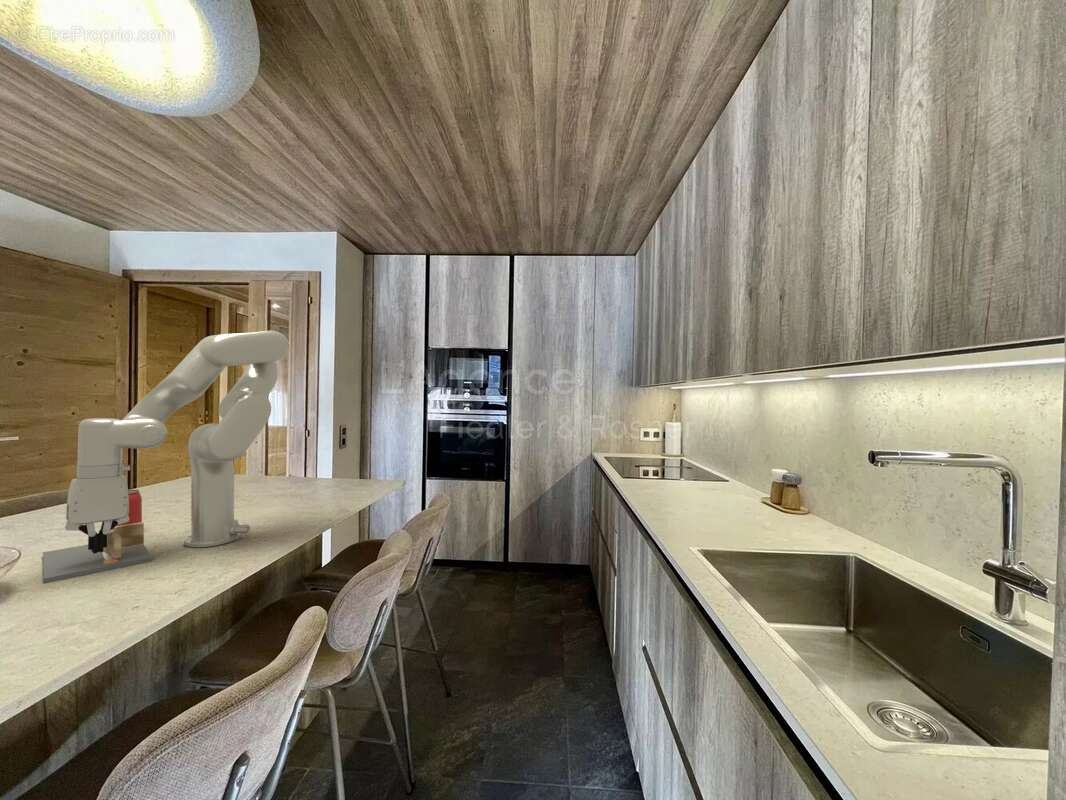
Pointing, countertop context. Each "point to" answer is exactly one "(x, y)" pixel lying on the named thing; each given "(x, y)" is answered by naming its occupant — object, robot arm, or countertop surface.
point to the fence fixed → (131, 534)
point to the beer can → (134, 507)
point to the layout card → (88, 561)
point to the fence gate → (113, 544)
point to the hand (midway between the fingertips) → (97, 551)
